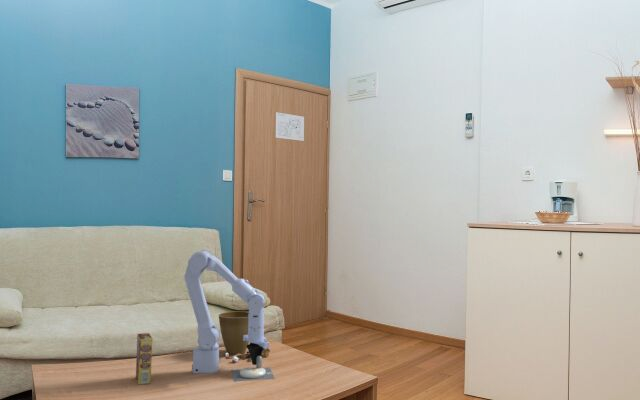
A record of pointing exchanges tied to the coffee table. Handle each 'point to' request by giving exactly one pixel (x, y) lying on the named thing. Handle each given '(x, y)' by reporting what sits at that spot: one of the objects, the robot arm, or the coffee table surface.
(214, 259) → the robot arm
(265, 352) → the character figurine
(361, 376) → the coffee table surface
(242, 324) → the plant pot
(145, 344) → the candy box
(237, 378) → the stand plate
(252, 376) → the dial
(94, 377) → the coffee table surface
